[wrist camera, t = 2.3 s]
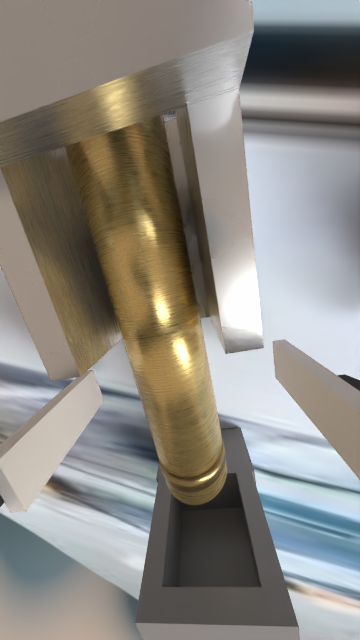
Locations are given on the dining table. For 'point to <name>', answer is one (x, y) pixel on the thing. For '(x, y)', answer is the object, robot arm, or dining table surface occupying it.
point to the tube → (154, 298)
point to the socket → (214, 564)
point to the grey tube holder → (108, 115)
